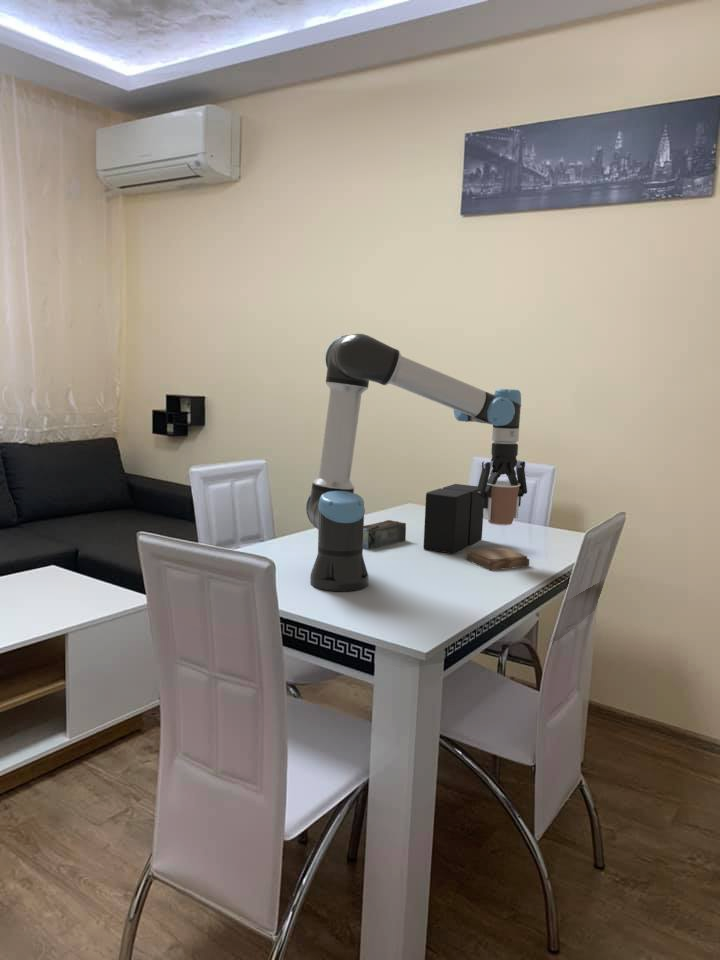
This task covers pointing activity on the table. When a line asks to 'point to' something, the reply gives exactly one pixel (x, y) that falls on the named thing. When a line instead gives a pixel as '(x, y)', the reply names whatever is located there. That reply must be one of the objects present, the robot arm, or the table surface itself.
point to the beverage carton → (383, 533)
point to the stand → (497, 558)
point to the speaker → (453, 518)
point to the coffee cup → (503, 502)
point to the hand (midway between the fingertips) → (500, 518)
